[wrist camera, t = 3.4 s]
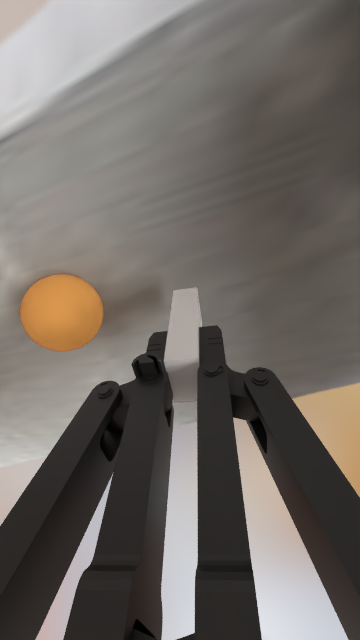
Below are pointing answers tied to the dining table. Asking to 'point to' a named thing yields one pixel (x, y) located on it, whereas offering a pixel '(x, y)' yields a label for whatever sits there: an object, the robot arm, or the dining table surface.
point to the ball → (61, 312)
